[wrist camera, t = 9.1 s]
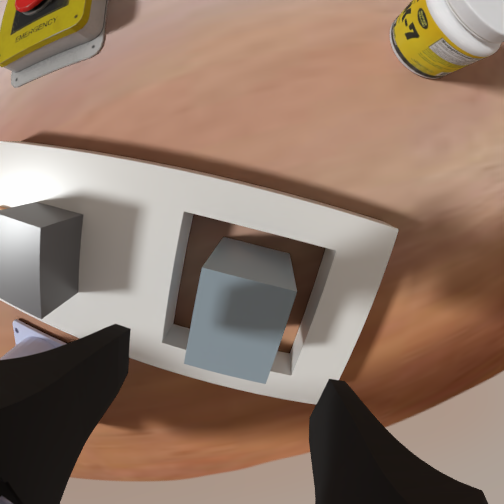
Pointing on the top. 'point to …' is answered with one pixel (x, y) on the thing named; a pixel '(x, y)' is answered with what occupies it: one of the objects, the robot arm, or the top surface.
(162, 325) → the white flat frame
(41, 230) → the matte grey cube
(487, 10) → the supplement bottle
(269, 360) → the slate plug
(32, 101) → the top surface
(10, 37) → the emergency button
